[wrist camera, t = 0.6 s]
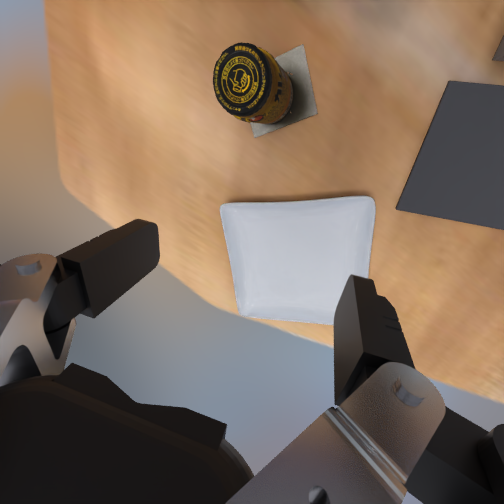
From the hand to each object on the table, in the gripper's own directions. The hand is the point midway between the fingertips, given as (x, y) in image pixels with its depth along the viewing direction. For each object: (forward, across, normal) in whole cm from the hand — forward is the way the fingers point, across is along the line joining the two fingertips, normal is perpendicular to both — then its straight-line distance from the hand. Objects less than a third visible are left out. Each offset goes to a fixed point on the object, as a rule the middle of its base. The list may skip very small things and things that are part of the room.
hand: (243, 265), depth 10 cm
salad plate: (+28, -2, +14) cm, 31 cm away
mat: (+27, -23, -4) cm, 36 cm away
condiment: (+28, +5, -7) cm, 29 cm away
